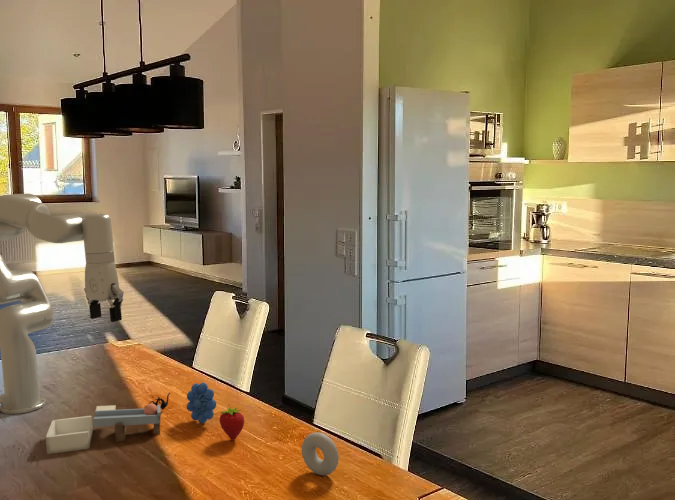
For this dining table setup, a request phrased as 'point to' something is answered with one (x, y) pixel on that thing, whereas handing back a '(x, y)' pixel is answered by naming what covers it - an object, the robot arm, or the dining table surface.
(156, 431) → the post
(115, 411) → the lever
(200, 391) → the grapes
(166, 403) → the creature
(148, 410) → the ball
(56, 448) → the tray
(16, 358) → the robot arm
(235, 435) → the strawberry
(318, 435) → the donut
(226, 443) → the dining table surface
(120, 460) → the dining table surface
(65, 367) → the dining table surface
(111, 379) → the dining table surface
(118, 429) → the pivot stand
